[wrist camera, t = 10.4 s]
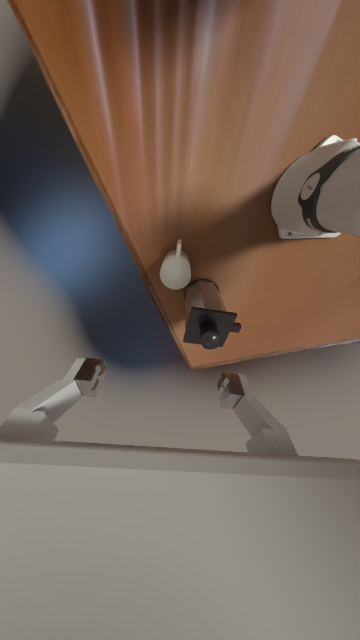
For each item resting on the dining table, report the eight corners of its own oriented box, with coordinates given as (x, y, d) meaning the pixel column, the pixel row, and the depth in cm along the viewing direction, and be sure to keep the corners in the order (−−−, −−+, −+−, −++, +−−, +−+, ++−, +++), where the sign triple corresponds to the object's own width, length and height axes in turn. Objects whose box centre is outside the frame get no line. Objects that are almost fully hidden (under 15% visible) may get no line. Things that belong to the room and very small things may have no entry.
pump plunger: (210, 292, 52) (223, 336, 35) (206, 303, 55) (217, 350, 38) (197, 290, 52) (204, 334, 35) (194, 301, 54) (199, 347, 38)
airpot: (181, 306, 57) (181, 343, 43) (188, 276, 50) (190, 307, 36) (221, 312, 59) (233, 349, 44) (232, 283, 52) (251, 316, 37)
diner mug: (194, 240, 44) (196, 248, 37) (187, 278, 51) (188, 291, 44) (165, 235, 44) (161, 242, 37) (162, 274, 50) (158, 287, 43)
